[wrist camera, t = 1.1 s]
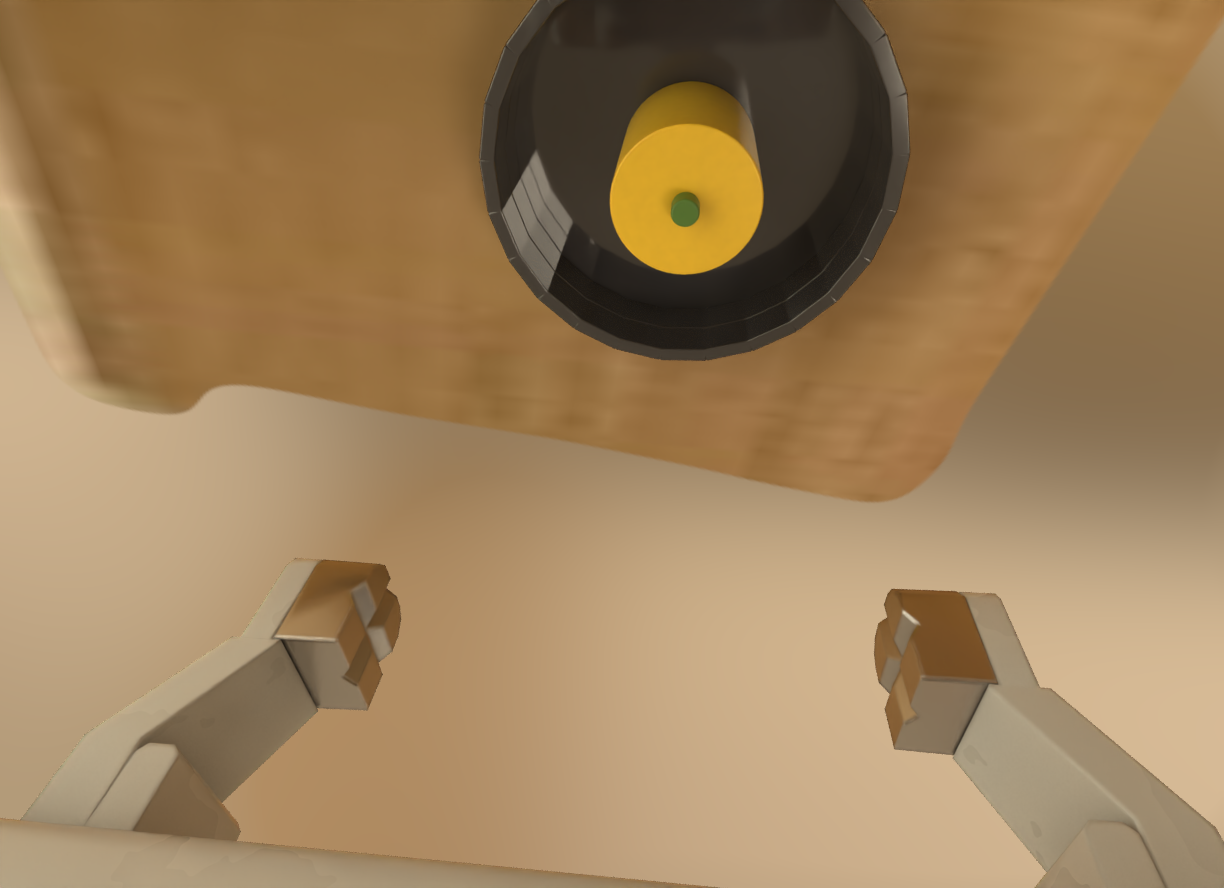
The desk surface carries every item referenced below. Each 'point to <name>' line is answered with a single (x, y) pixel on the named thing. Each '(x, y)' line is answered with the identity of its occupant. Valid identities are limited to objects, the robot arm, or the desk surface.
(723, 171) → the yellow pepper
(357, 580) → the robot arm
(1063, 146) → the desk surface
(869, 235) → the pan
